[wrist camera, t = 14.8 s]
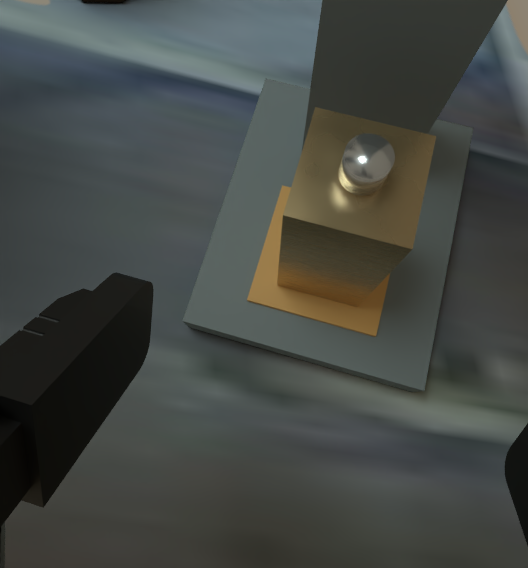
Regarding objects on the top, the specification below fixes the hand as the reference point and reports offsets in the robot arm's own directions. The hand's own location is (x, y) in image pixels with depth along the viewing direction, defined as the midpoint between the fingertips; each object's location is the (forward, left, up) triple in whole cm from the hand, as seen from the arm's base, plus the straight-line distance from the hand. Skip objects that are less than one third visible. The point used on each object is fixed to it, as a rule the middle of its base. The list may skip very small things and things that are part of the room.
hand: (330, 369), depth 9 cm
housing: (0, +7, -13) cm, 15 cm away
